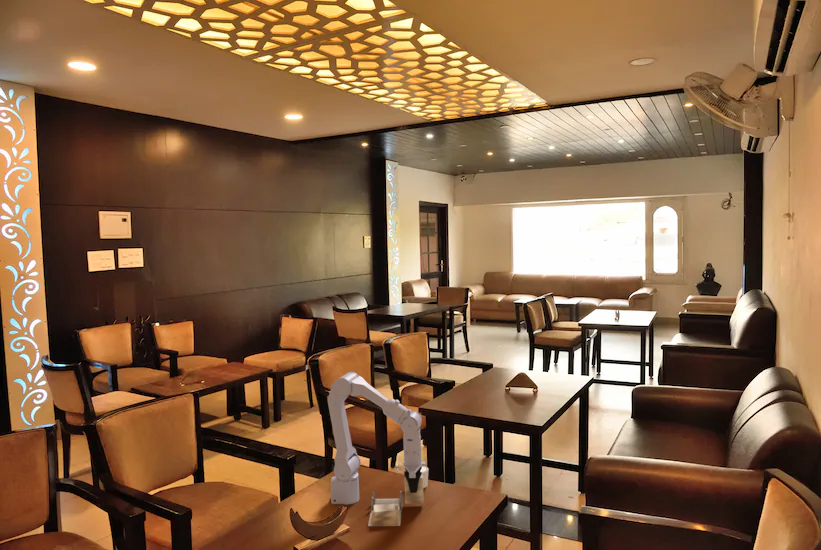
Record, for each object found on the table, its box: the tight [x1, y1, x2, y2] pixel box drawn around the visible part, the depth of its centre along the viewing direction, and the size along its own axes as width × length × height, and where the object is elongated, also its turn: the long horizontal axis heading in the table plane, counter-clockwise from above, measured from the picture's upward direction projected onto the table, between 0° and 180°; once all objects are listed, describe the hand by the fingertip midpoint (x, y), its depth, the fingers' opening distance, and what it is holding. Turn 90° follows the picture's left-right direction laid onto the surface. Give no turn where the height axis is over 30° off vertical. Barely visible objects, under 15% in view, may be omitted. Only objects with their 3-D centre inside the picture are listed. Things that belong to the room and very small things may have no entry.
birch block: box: [403, 475, 424, 505], centre depth 182 cm, size 6×3×8 cm, turn 88°
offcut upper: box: [374, 504, 396, 518], centre depth 174 cm, size 6×4×2 cm
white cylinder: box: [420, 465, 429, 489], centre depth 198 cm, size 7×7×7 cm
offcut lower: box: [371, 510, 398, 524], centre depth 174 cm, size 8×5×2 cm, turn 88°
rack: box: [367, 490, 403, 527], centre depth 178 cm, size 10×16×5 cm, turn 178°
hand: (413, 490), depth 182 cm, fingers closed on birch block, 3 cm apart
